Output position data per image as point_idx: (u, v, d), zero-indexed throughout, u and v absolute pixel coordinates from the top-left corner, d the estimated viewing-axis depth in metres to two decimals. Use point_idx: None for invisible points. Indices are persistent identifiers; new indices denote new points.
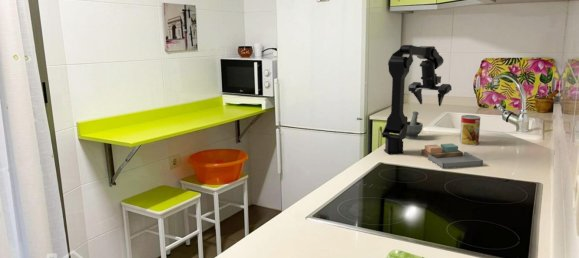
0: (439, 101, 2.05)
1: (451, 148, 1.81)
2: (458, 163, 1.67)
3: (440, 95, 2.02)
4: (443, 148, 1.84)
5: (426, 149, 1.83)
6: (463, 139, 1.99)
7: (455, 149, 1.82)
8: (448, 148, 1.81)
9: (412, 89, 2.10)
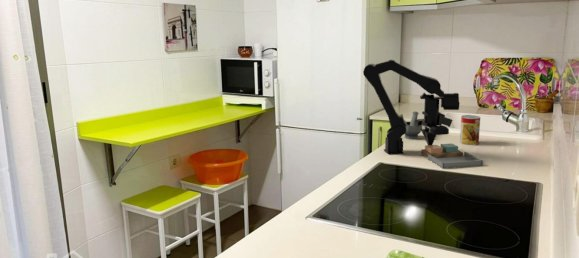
0: (427, 140, 1.84)
1: (451, 148, 1.81)
2: (458, 163, 1.67)
3: (426, 133, 1.82)
4: (443, 148, 1.84)
5: (427, 149, 1.83)
6: (463, 139, 1.99)
7: (455, 149, 1.82)
8: (448, 148, 1.81)
9: (416, 124, 1.90)
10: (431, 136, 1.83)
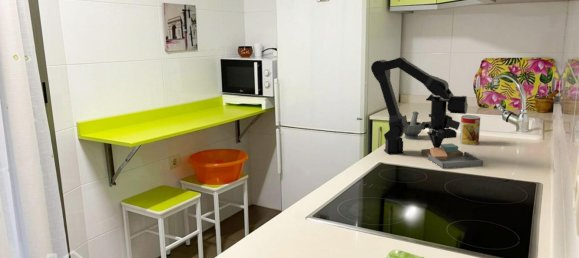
0: (434, 144, 1.78)
1: (451, 148, 1.81)
2: (458, 163, 1.67)
3: (433, 136, 1.76)
4: None
5: (431, 153, 1.78)
6: (463, 139, 1.99)
7: (455, 149, 1.82)
8: (448, 148, 1.81)
9: (422, 127, 1.84)
10: (438, 139, 1.78)
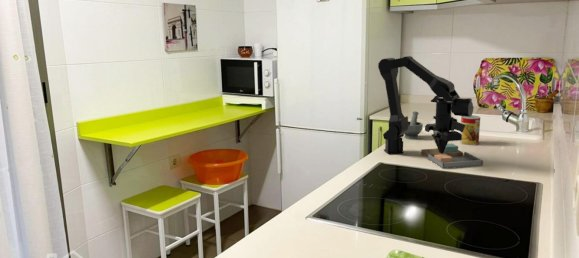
0: (439, 147, 1.75)
1: (451, 148, 1.81)
2: (458, 163, 1.67)
3: (438, 139, 1.73)
4: None
5: None
6: (463, 139, 1.99)
7: (455, 149, 1.82)
8: (448, 148, 1.81)
9: (426, 129, 1.81)
10: (443, 142, 1.74)
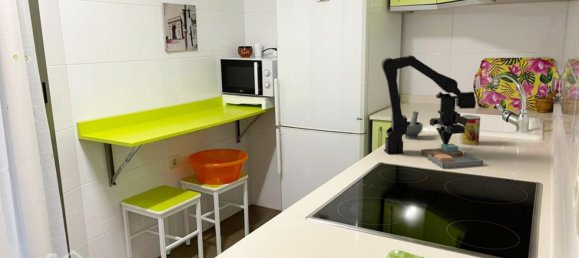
0: (443, 139, 1.85)
1: (451, 148, 1.81)
2: (458, 163, 1.67)
3: (442, 132, 1.83)
4: (443, 148, 1.83)
5: None
6: (463, 139, 1.99)
7: (455, 149, 1.82)
8: (448, 148, 1.81)
9: (431, 123, 1.91)
10: (447, 135, 1.85)
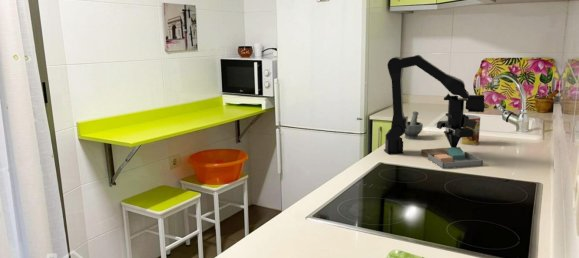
0: (451, 143, 1.79)
1: (457, 156, 1.76)
2: (458, 163, 1.67)
3: (450, 135, 1.77)
4: (449, 153, 1.78)
5: None
6: (463, 139, 1.99)
7: (461, 157, 1.76)
8: (454, 156, 1.76)
9: (439, 126, 1.85)
10: (455, 138, 1.78)
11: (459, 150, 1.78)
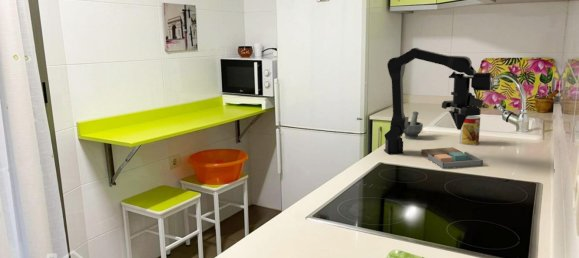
0: (456, 123, 1.74)
1: (460, 157, 1.74)
2: (458, 163, 1.67)
3: (455, 114, 1.72)
4: None
5: None
6: (463, 139, 1.99)
7: (464, 158, 1.75)
8: (457, 157, 1.74)
9: (444, 106, 1.80)
10: (461, 118, 1.73)
11: (460, 153, 1.77)
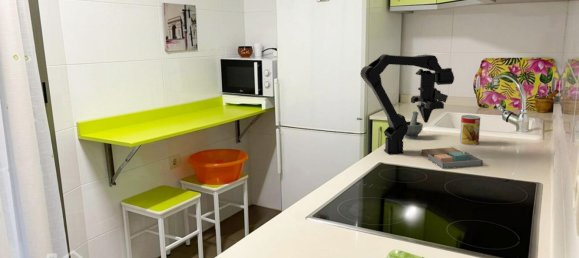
0: (423, 116, 1.88)
1: (460, 157, 1.74)
2: (458, 163, 1.67)
3: (422, 108, 1.85)
4: None
5: None
6: (463, 139, 1.99)
7: (464, 158, 1.75)
8: (457, 157, 1.74)
9: (412, 100, 1.94)
10: (427, 111, 1.87)
11: (460, 153, 1.77)
